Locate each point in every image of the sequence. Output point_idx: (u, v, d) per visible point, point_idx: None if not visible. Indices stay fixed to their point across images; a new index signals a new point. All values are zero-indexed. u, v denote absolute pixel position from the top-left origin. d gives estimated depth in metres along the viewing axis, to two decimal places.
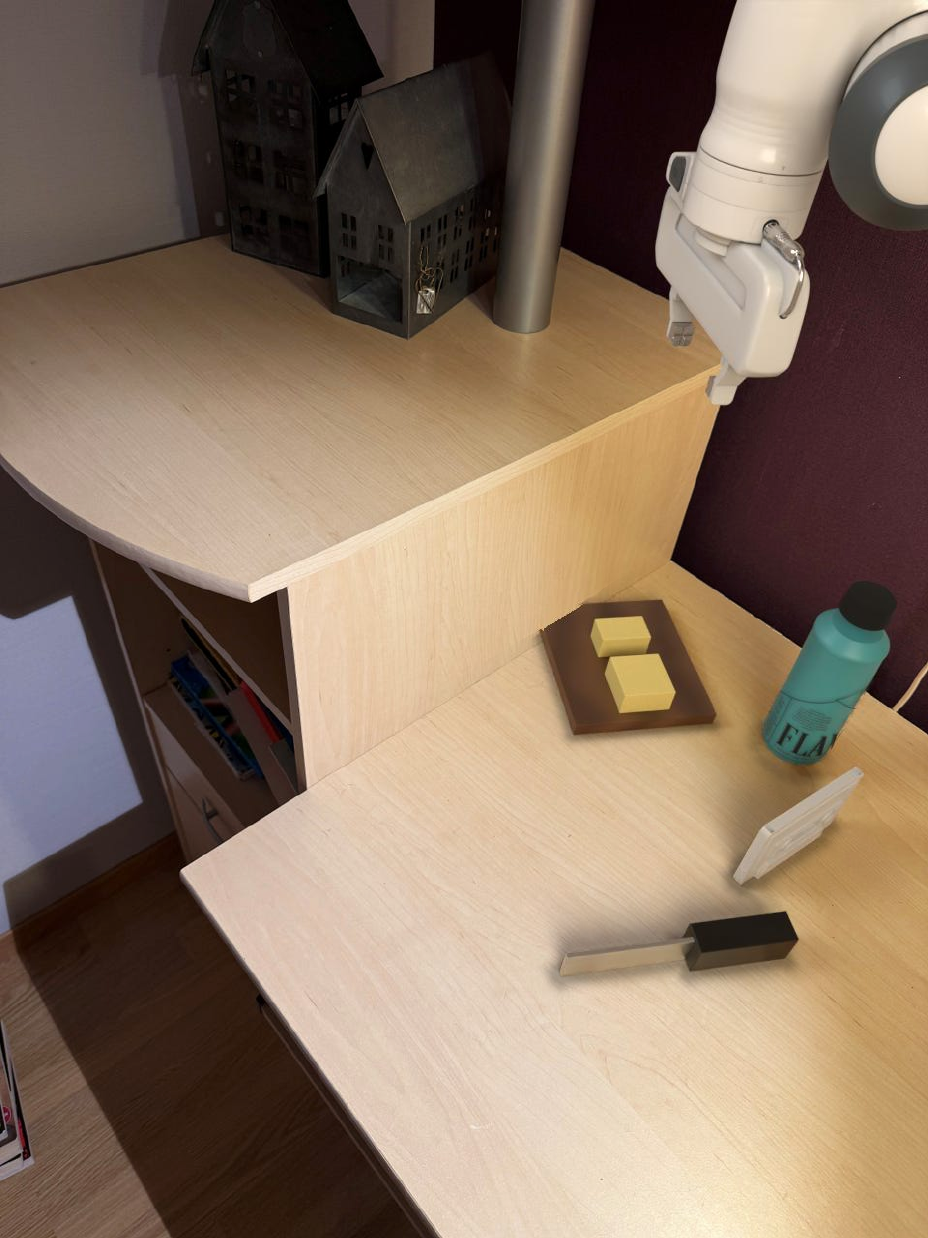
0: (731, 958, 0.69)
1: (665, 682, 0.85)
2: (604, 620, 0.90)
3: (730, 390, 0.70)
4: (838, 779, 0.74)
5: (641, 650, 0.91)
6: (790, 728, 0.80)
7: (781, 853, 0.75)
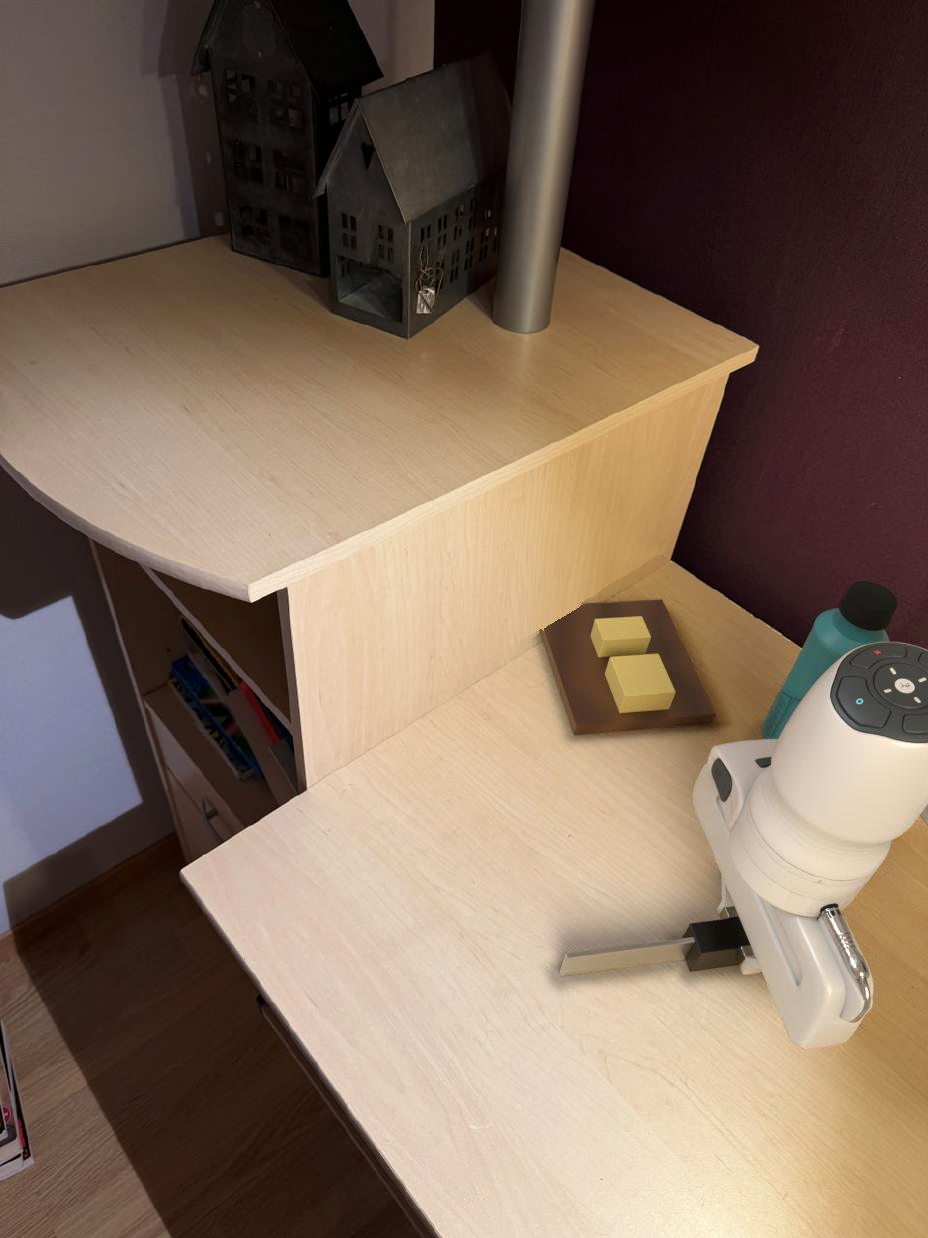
0: (731, 958, 0.69)
1: (665, 682, 0.85)
2: (604, 620, 0.90)
3: None
4: None
5: (641, 650, 0.91)
6: None
7: None
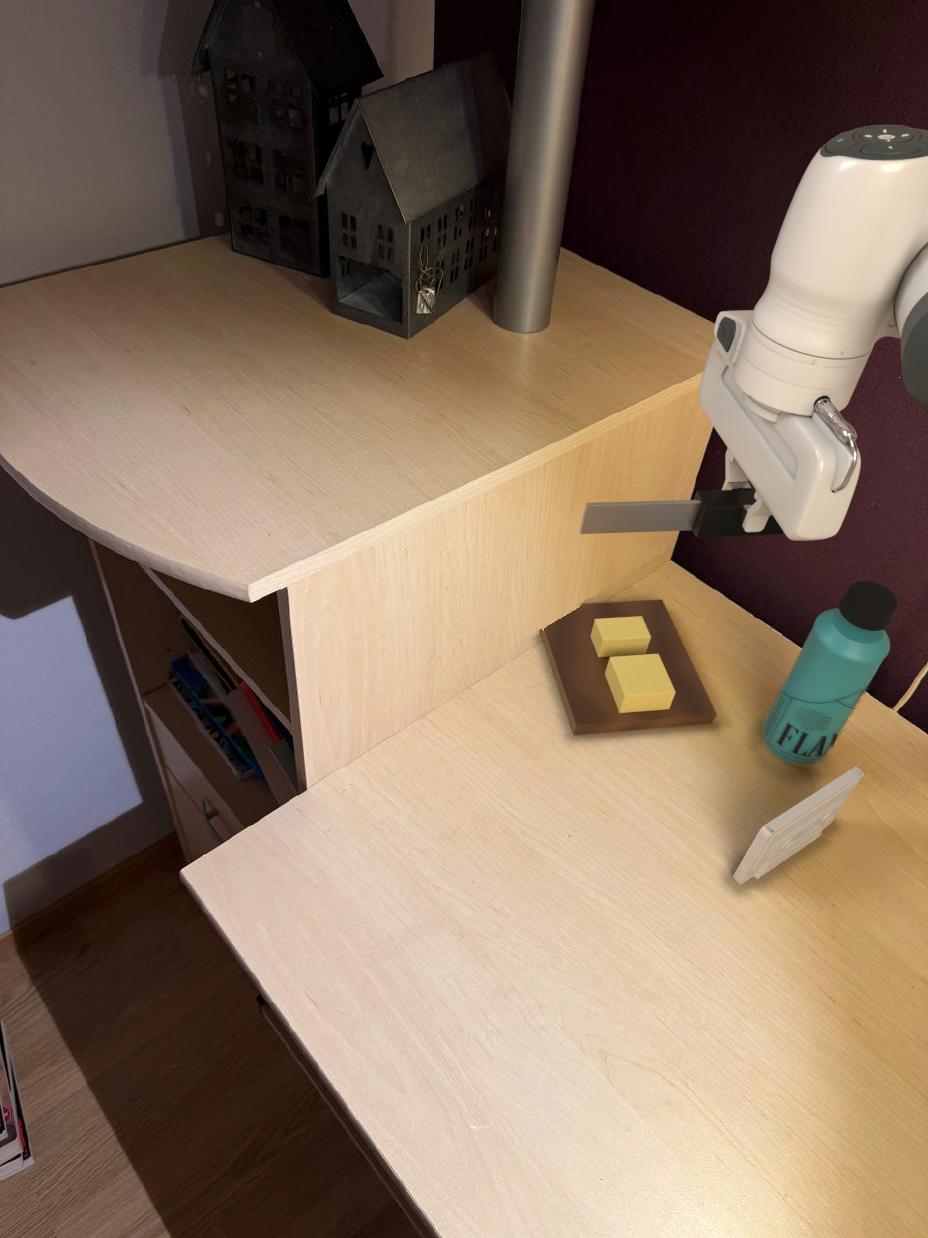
0: (734, 522, 0.76)
1: (665, 682, 0.85)
2: (604, 620, 0.90)
3: (762, 519, 0.75)
4: (838, 779, 0.74)
5: (641, 650, 0.91)
6: (790, 728, 0.80)
7: (781, 853, 0.75)
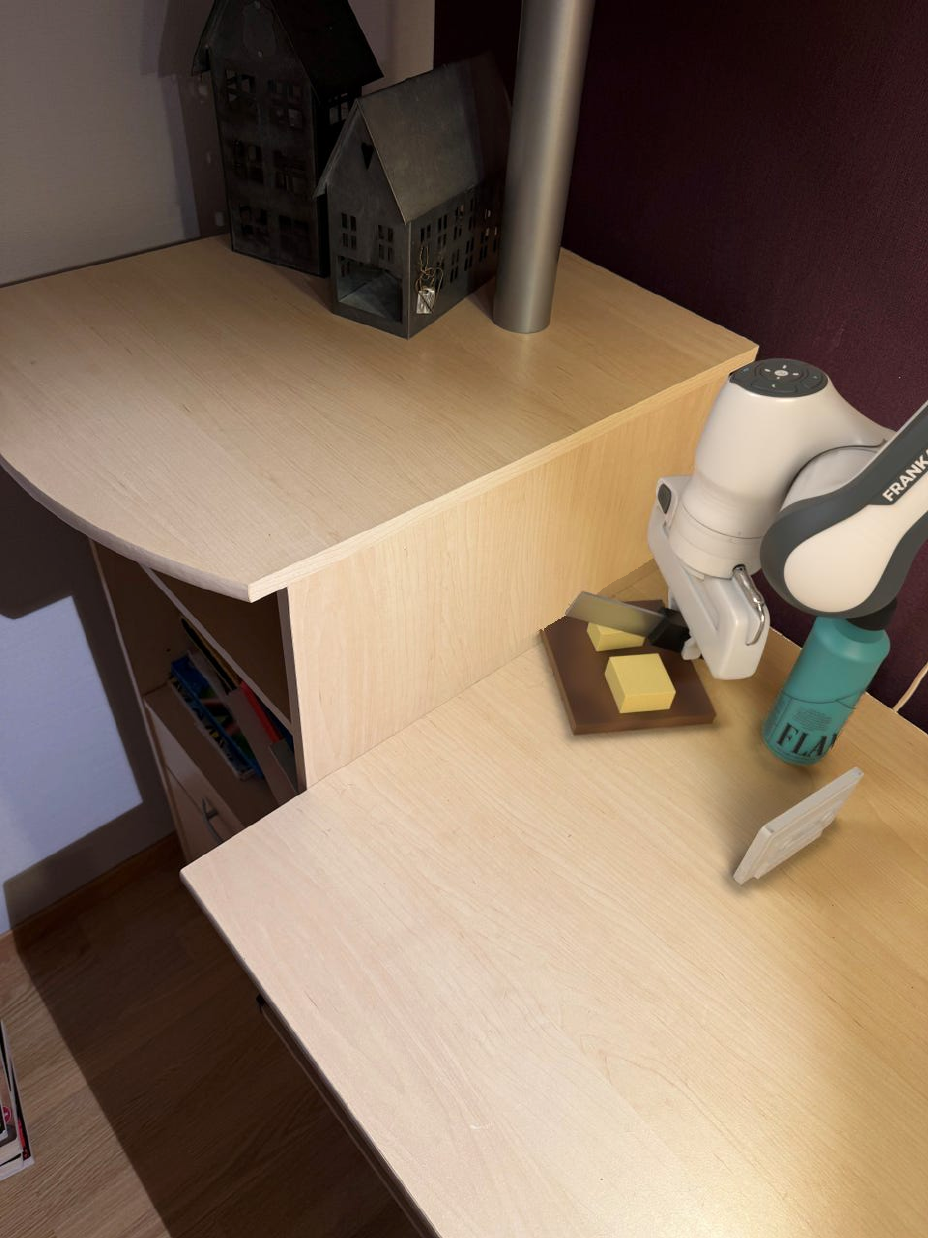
0: None
1: (665, 682, 0.85)
2: None
3: (697, 650, 0.88)
4: (838, 779, 0.74)
5: (638, 642, 0.91)
6: (790, 728, 0.80)
7: (781, 853, 0.75)
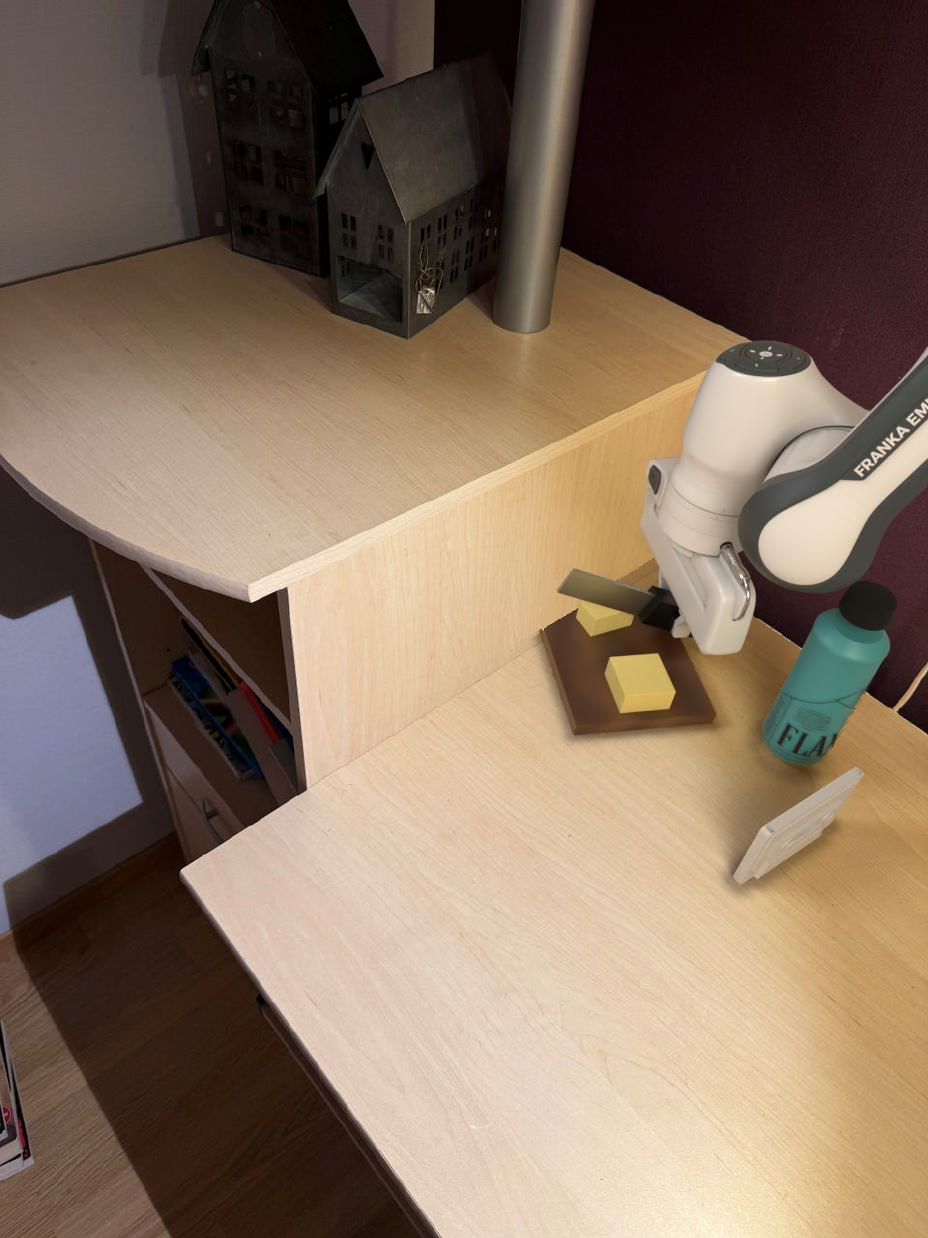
0: None
1: (665, 682, 0.85)
2: None
3: (687, 628, 0.90)
4: (838, 779, 0.74)
5: (628, 622, 0.93)
6: (790, 728, 0.80)
7: (781, 853, 0.75)
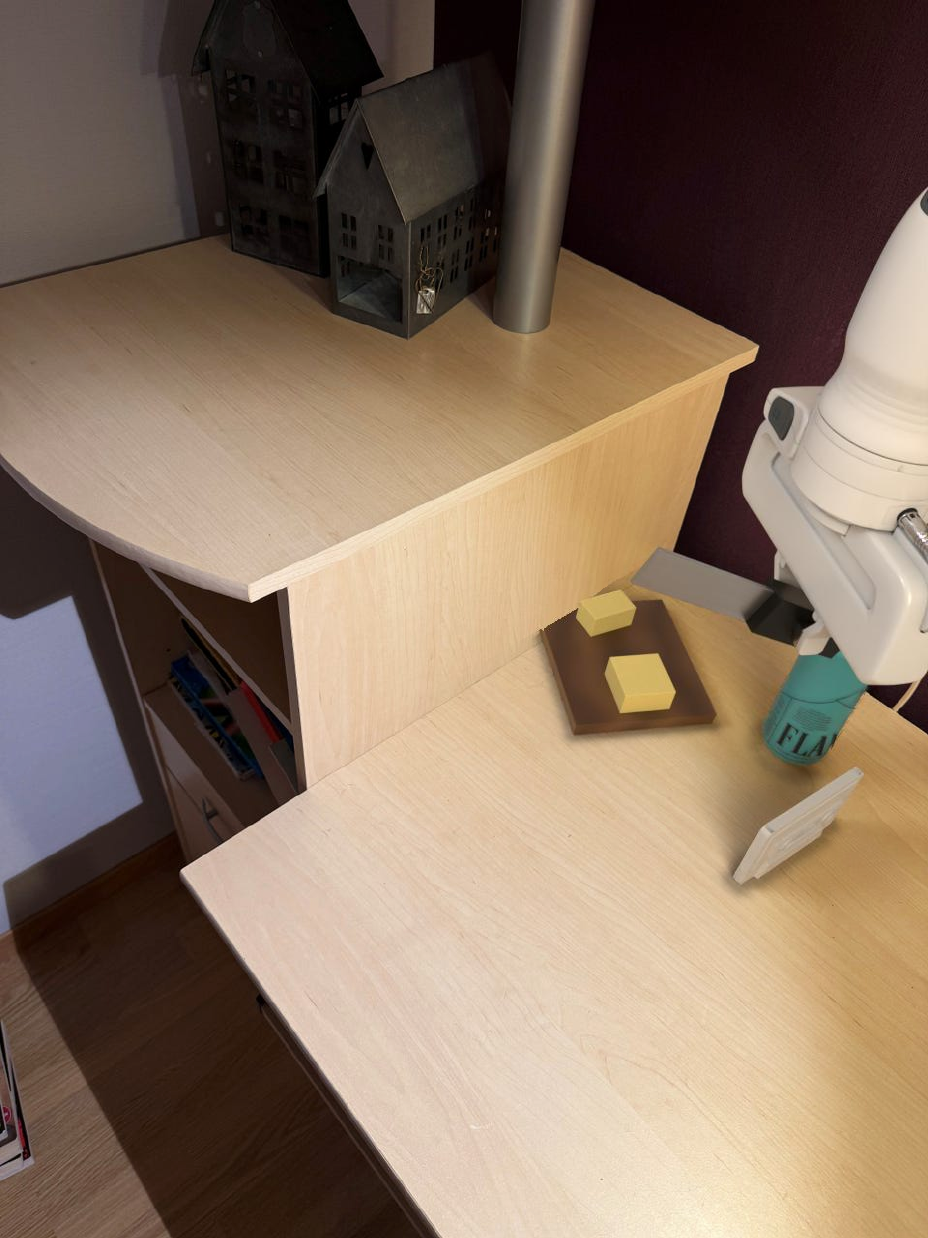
0: None
1: (665, 682, 0.85)
2: (589, 600, 0.92)
3: (821, 641, 0.61)
4: (838, 779, 0.74)
5: (628, 622, 0.93)
6: (790, 728, 0.80)
7: (781, 853, 0.75)
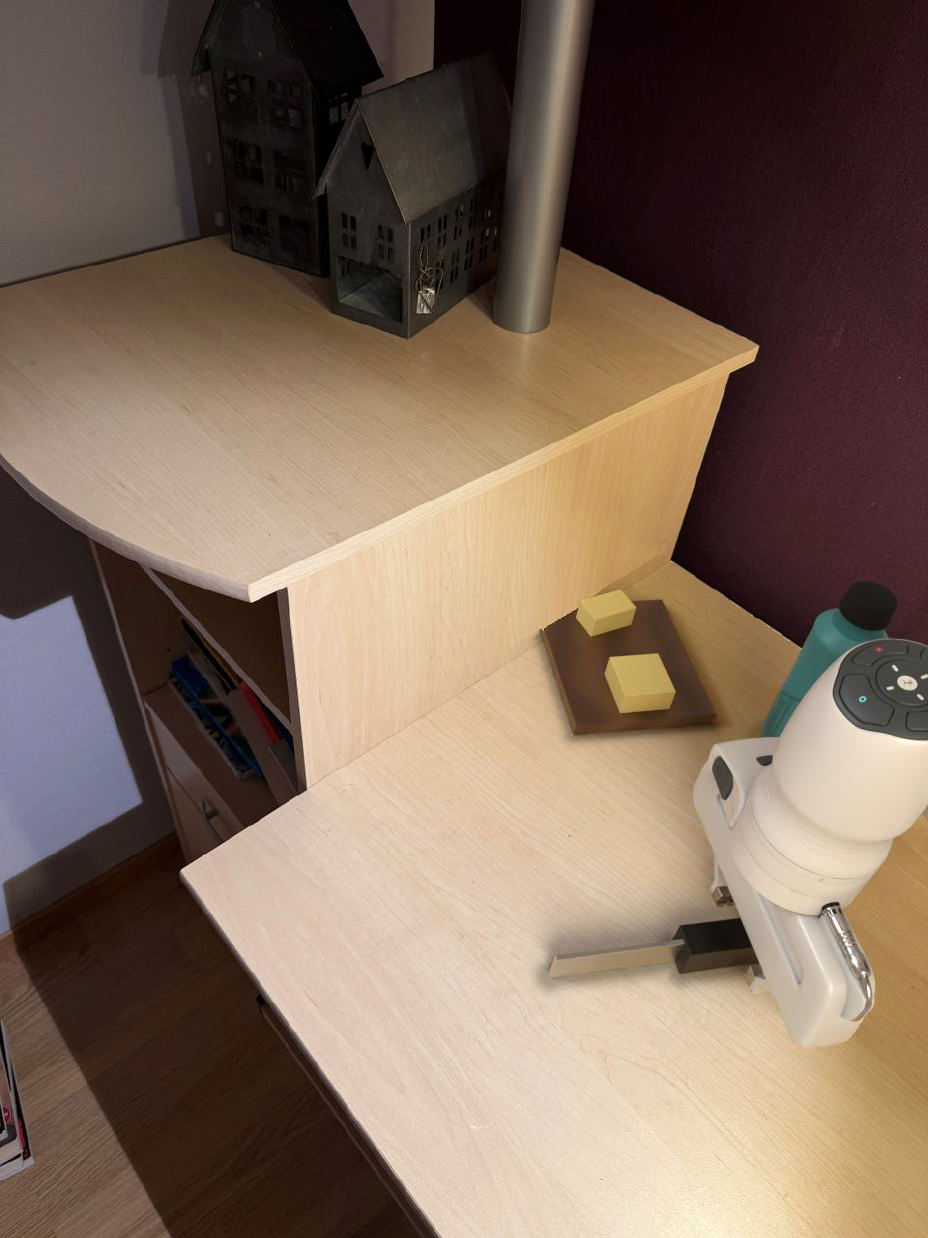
0: (721, 960, 0.68)
1: (665, 682, 0.85)
2: (589, 600, 0.92)
3: None
4: None
5: (628, 622, 0.93)
6: None
7: None
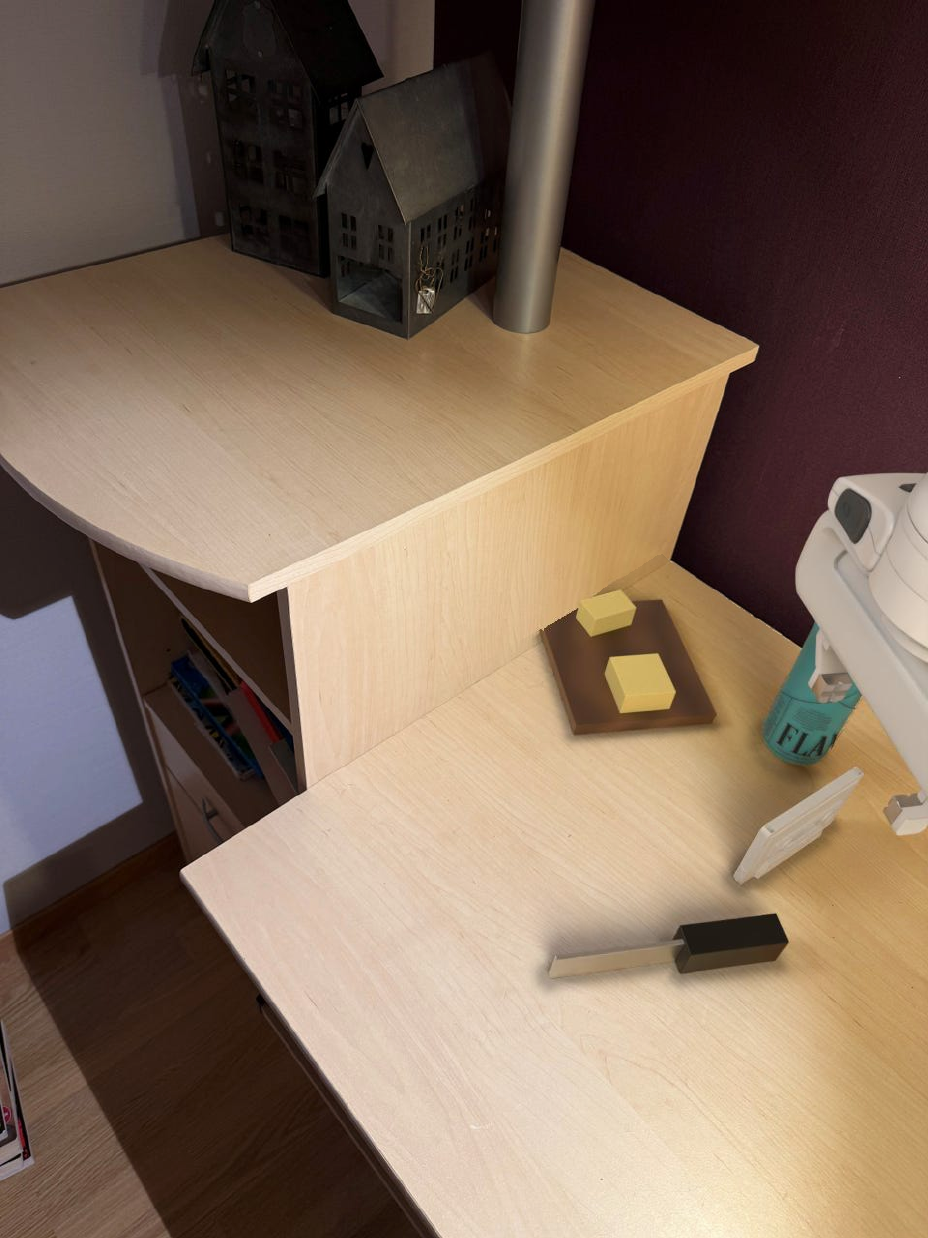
0: (721, 960, 0.68)
1: (665, 682, 0.85)
2: (589, 600, 0.92)
3: (924, 820, 0.49)
4: (838, 779, 0.74)
5: (628, 622, 0.93)
6: (790, 728, 0.80)
7: (781, 853, 0.75)
